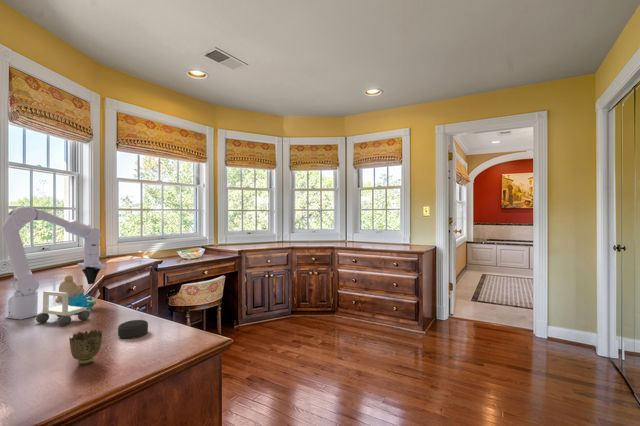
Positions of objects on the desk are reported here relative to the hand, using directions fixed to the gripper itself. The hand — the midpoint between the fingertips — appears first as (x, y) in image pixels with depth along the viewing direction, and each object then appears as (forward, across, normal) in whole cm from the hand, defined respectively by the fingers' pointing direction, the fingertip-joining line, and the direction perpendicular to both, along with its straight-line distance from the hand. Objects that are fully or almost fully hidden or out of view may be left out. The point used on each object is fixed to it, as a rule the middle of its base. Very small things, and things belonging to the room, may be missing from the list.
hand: (91, 283), depth 148 cm
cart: (+9, -13, +21) cm, 26 cm away
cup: (+10, -56, +45) cm, 72 cm away
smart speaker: (+10, -50, +24) cm, 56 cm away
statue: (+10, +18, -3) cm, 20 cm away
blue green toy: (+10, -7, +10) cm, 15 cm away
